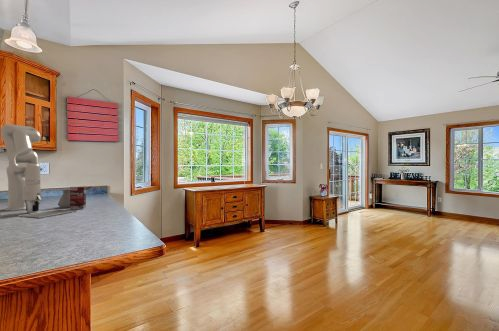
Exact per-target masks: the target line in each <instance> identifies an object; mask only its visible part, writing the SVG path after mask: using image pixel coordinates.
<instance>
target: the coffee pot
mask: <svg viewBox="0 0 499 331" xmlns="http://www.w3.org/2000/svg"><path fill="white" fill-rule="evenodd" d="M90 188H91V189H93V186H87V187H86V190H89V189H90ZM57 202H58V203H57V205H58V206H59V207H60V208H61V209H68V208H69V209H70V189H62V195H61V197H60V198H59V201H57Z"/></svg>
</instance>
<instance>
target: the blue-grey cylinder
mask: <svg viewBox="0 0 499 331" xmlns="http://www.w3.org/2000/svg"><path fill="white" fill-rule="evenodd" d="M35 202H36V201H35ZM37 212H38V211H34V212H33V201H27V211H26V213H27V214H31V213H37Z"/></svg>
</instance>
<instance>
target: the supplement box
mask: <svg viewBox="0 0 499 331" xmlns="http://www.w3.org/2000/svg"><path fill="white" fill-rule="evenodd" d="M86 188H87V186H70V187H69V190H70V208H69V211H72V210H85V209H86V208H87V189H86Z"/></svg>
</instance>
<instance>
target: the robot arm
mask: <svg viewBox="0 0 499 331" xmlns="http://www.w3.org/2000/svg"><path fill="white" fill-rule="evenodd" d="M0 136H1V138H2V140H3V142H4V143H5V148H6V156H7V160H8V166H7V167H6V175H7V176H6V177H7V188H8V190H7V204H5V205H6V207H5V208H4V211H7V212H9V211H12V212H13V211H23V210H24V211H25V210H26V212H27V201H33V212H34V211H37V212H40V211H39V210H40V209H39V208H40V206H39V205H40V203H41V202H42V200H43V199H42V187H41V165H40V163H39V157H38V154H37V152H36V151H34V150H33V146H32V143H36V144H37V143H40V142H41V139H42V136H41V133H40V132H39V131H38V130H37V129H36V128H34V127H33V126H27V125H19V124H18V125H17V124H4V125H2V126H1V128H0ZM35 201H36V202H35Z"/></svg>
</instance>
